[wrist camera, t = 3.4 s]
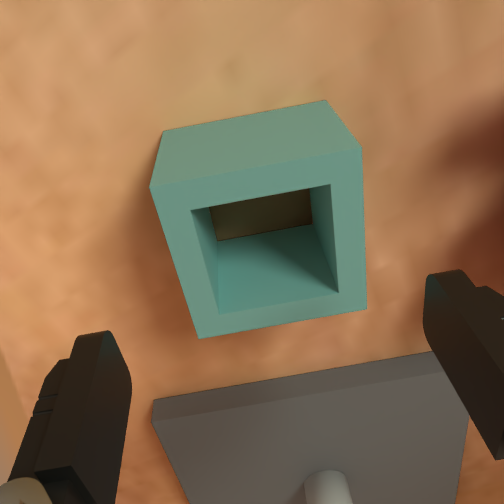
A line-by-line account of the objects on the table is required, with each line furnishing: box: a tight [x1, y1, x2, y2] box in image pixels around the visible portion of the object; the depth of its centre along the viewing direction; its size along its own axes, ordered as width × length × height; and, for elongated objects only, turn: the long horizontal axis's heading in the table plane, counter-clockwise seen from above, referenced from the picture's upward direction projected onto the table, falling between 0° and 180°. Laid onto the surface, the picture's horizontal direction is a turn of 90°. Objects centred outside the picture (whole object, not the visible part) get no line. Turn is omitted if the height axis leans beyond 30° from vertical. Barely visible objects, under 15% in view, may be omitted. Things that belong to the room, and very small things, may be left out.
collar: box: [149, 100, 367, 339], centre depth 17 cm, size 6×6×5 cm
